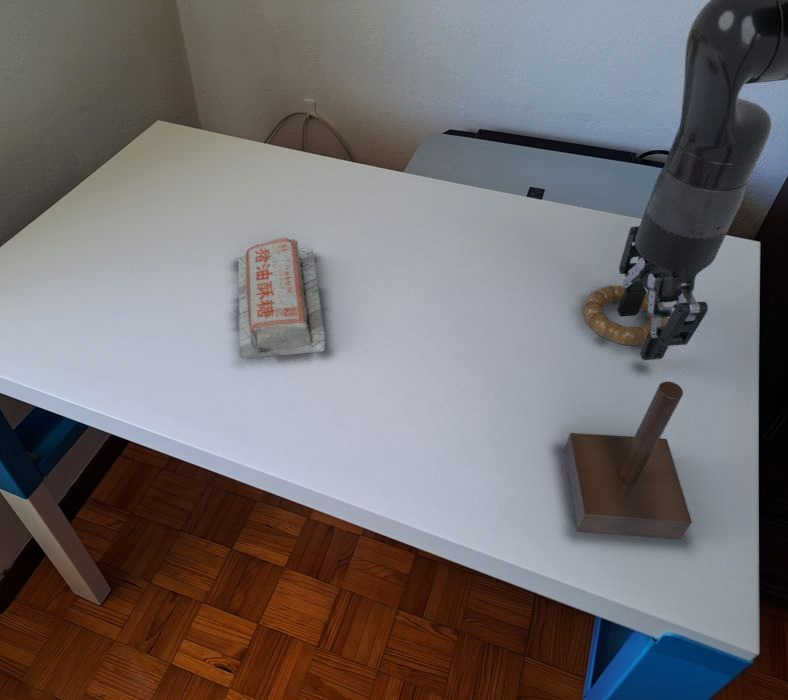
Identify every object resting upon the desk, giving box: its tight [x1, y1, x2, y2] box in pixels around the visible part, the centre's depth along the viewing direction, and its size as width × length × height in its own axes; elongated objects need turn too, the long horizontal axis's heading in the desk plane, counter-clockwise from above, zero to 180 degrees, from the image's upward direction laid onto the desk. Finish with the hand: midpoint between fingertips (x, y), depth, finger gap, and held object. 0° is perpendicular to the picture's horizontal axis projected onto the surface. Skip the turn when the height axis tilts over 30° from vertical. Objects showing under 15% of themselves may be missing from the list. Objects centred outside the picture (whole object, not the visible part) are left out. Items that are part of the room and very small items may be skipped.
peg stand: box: [563, 381, 693, 540], centre depth 59 cm, size 9×9×15 cm
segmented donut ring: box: [582, 284, 670, 346], centre depth 80 cm, size 9×9×2 cm
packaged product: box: [238, 237, 326, 359], centre depth 83 cm, size 18×5×10 cm
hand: (637, 334), depth 77 cm, fingers open, 6 cm apart
